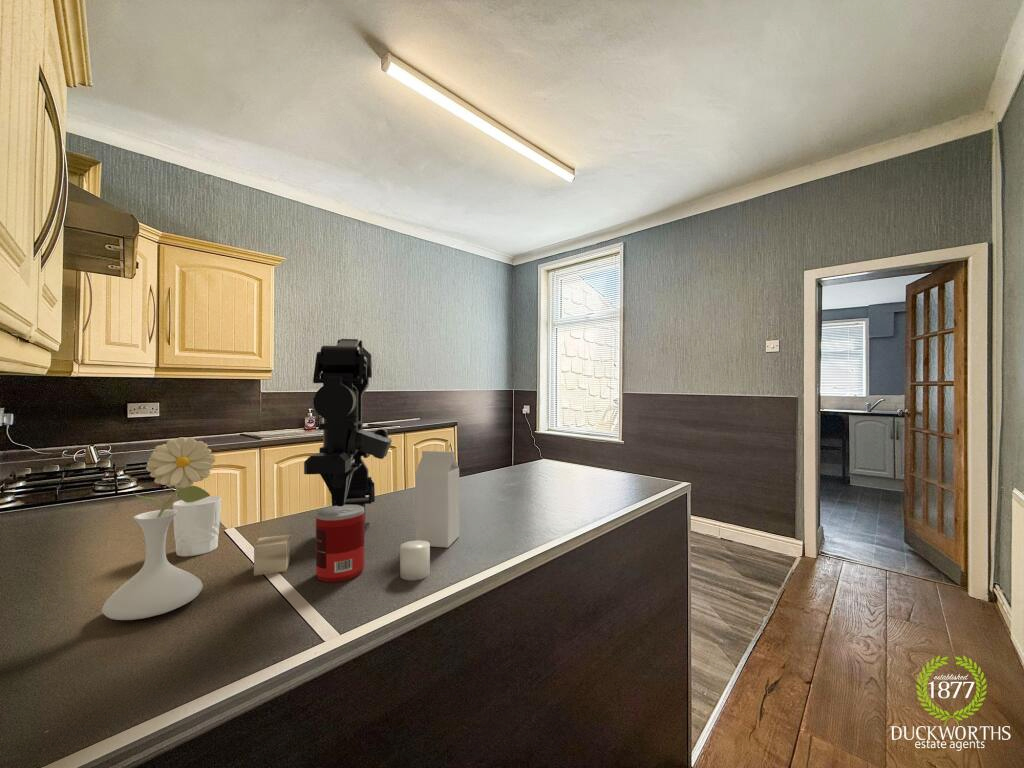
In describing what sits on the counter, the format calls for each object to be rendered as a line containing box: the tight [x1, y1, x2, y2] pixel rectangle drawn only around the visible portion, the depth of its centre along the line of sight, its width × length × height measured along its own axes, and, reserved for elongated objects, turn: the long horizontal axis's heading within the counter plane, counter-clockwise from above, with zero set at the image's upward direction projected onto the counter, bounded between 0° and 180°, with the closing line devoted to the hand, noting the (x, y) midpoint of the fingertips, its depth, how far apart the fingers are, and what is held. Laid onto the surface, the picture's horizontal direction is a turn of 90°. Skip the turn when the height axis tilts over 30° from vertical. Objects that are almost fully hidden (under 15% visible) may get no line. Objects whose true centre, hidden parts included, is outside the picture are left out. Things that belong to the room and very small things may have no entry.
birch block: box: [253, 534, 291, 577], centre depth 77 cm, size 5×5×5 cm
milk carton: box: [415, 450, 460, 548], centre depth 91 cm, size 7×7×19 cm
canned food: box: [315, 505, 366, 583], centre depth 75 cm, size 8×8×11 cm
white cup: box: [172, 495, 222, 557], centre depth 86 cm, size 8×8×10 cm
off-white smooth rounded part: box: [399, 539, 431, 581], centre depth 74 cm, size 5×5×5 cm
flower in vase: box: [101, 436, 216, 621], centre depth 64 cm, size 13×11×25 cm
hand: (340, 505), depth 75 cm, fingers closed
